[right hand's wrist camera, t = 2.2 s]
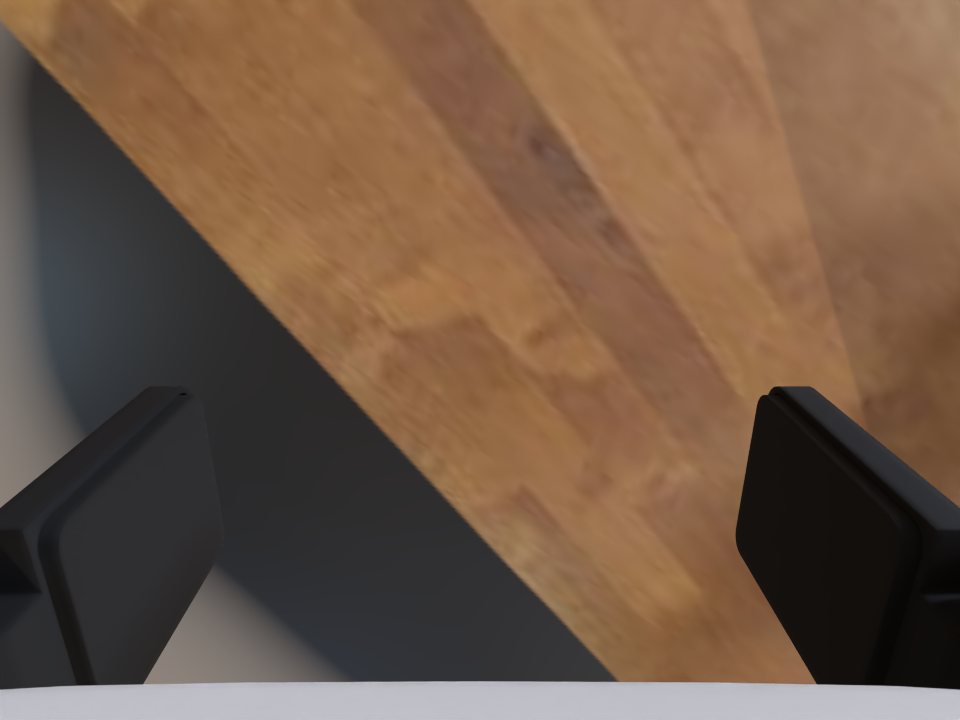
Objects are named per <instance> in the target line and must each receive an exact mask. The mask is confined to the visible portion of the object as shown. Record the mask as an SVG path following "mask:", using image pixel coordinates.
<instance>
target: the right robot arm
mask: <svg viewBox="0 0 960 720" xmlns="http://www.w3.org/2000/svg"><path fill="white" fill-rule="evenodd" d="M223 544H224V526H223V521H222V515H221V509H220V503H219V497H218V491H217V485H216V480H215V474H214V468H213V462H212V456H211V450H210V444H209V438H208V433H207V427H206V421H205V415H204V409H203V404H202V401H201V399H200V397H199V396H198V395H192V394H191V392H190V391H189V389H188V388H186V387H148V388H146V389H145V390H144V391H143V392H141V393H140V394H139V395H138V396H136V397H135V398H134V399H133V400H132V401H130V402H129V403H128V404H127V405H125V406H124V407H123V408H122V409H121V410H119V411H118V412H117V413H116V414H114V415H113V416H112V417H111V418H110V419H108V420H107V421H106V422H105V423H103V424H102V425H101V426H100V427H99V428H97V429H96V430H95V431H94V432H92V433H91V434H90V435H89V436H88V437H86V438H85V439H84V440H83V441H82V442H80V443H79V444H78V445H77V446H75V447H74V448H73V449H72V450H71V451H69V452H68V453H67V454H66V455H64V456H63V457H62V458H61V459H60V460H58V461H57V462H56V463H55V464H53V465H52V466H51V467H50V468H49V469H47V470H46V471H45V472H44V473H42V474H41V475H40V476H39V477H38V478H36V479H35V480H34V481H33V482H32V483H30V484H29V485H28V486H27V487H25V488H24V489H23V490H22V491H21V492H19V493H18V494H17V495H16V496H14V497H13V498H12V499H11V500H10V501H8V502H7V503H6V504H5V505H3V506H2V507H1V508H0V720H960V508H959V507H958V506H957V505H955V504H954V503H953V502H952V501H950V500H949V499H948V498H947V497H946V496H944V495H943V494H942V493H941V492H939V491H938V490H937V489H936V488H935V487H933V486H932V485H931V484H930V483H929V482H927V481H926V480H925V479H924V478H922V477H921V476H920V475H919V474H918V473H916V472H915V471H914V470H913V469H911V468H910V467H909V466H908V465H907V464H905V463H904V462H903V461H902V460H900V459H899V458H898V457H897V456H896V455H894V454H893V453H892V452H891V451H889V450H888V449H887V448H886V447H885V446H883V445H882V444H881V443H880V442H878V441H877V440H876V439H875V438H874V437H872V436H871V435H870V434H869V433H868V432H866V431H865V430H864V429H863V428H861V427H860V426H859V425H858V424H857V423H855V422H854V421H853V420H852V419H850V418H849V417H848V416H847V415H846V414H844V413H843V412H842V411H841V410H839V409H838V408H837V407H836V406H835V405H833V404H832V403H831V402H830V401H828V400H827V399H826V398H825V397H824V396H822V395H821V394H820V393H819V392H818V391H816V390H815V389H814V388H812V387H774V388H772V389H771V391H770V392H769V394H768V395H762V396H761V397H760V399H759V401H758V404H757V409H756V415H755V421H754V427H753V432H752V438H751V444H750V450H749V456H748V462H747V468H746V474H745V479H744V485H743V491H742V497H741V503H740V509H739V515H738V520H737V526H736V544H737V548H738V551H739V553H740V555H741V557H742V558H743V560H744V562H745V563H746V565H747V567H748V568H749V570H750V572H751V573H752V575H753V577H754V579H755V580H756V582H757V584H758V585H759V587H760V589H761V590H762V592H763V594H764V595H765V597H766V599H767V601H768V602H769V604H770V606H771V607H772V609H773V611H774V612H775V614H776V616H777V617H778V619H779V621H780V622H781V624H782V626H783V628H784V629H785V631H786V633H787V634H788V636H789V638H790V639H791V641H792V643H793V644H794V646H795V648H796V650H797V651H798V653H799V655H800V656H801V658H802V660H803V661H804V663H805V665H806V666H807V668H808V670H809V671H810V673H811V675H812V677H813V678H814V680H815V682H816V683H817V684H764V683H699V682H488V681H486V682H485V681H477V682H473V681H472V682H264V683H263V682H262V683H196V684H143V683H144V682H145V680H146V678H147V677H148V675H149V673H150V671H151V670H152V668H153V666H154V665H155V663H156V661H157V660H158V658H159V656H160V655H161V653H162V651H163V650H164V648H165V646H166V644H167V643H168V641H169V639H170V638H171V636H172V634H173V633H174V631H175V629H176V628H177V626H178V624H179V622H180V621H181V619H182V617H183V616H184V614H185V612H186V611H187V609H188V607H189V605H190V604H191V602H192V601H193V599H194V597H195V595H196V594H197V592H198V590H199V589H200V587H201V585H202V584H203V582H204V580H205V579H206V577H207V575H208V573H209V572H210V570H211V568H212V567H213V565H214V563H215V562H216V560H217V558H218V557H219V555H220V553H221V551H222V548H223Z"/></svg>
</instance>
